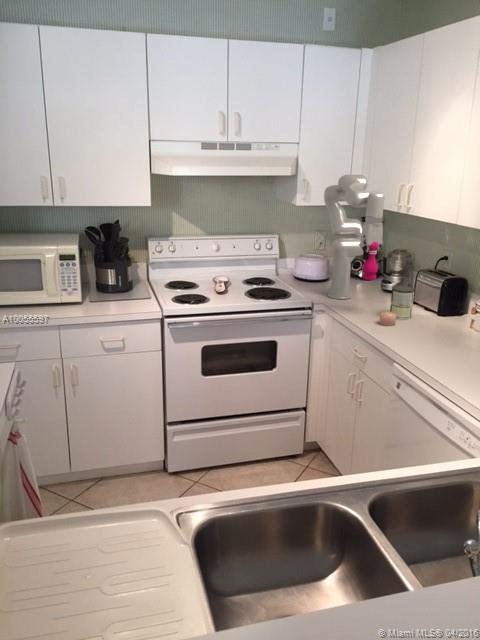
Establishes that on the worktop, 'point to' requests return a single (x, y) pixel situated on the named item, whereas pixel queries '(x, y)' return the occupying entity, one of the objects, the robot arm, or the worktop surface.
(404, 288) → the green cylindrical container
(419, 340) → the worktop surface
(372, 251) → the pepper mill
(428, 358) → the worktop surface
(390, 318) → the pale pink round lump
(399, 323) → the worktop surface
